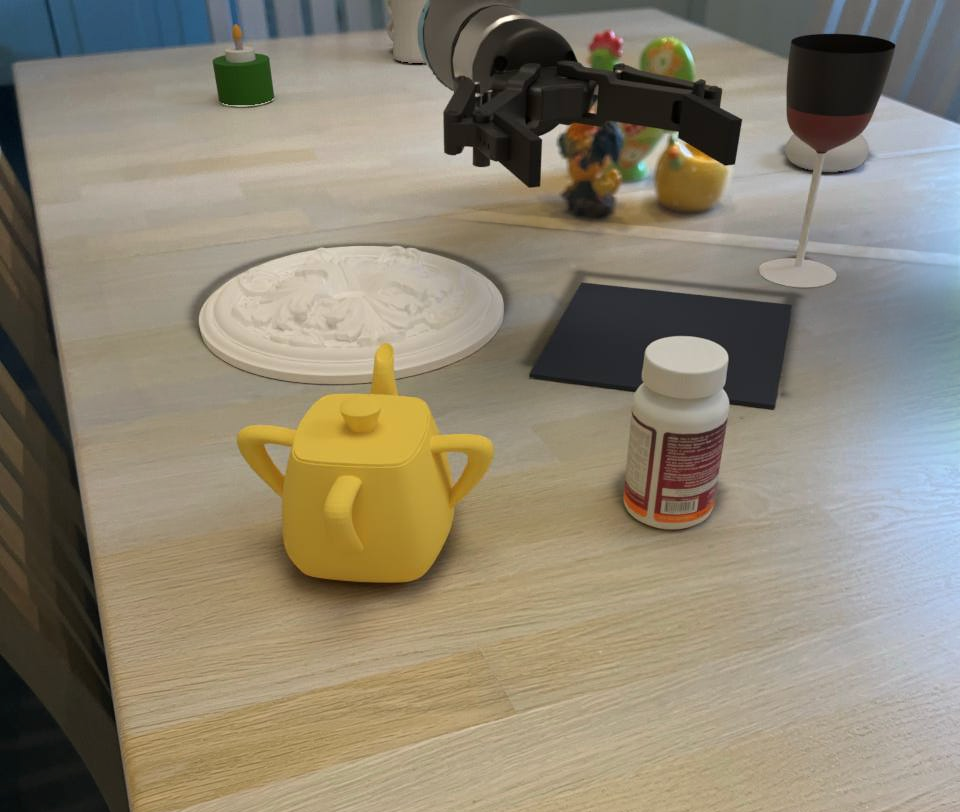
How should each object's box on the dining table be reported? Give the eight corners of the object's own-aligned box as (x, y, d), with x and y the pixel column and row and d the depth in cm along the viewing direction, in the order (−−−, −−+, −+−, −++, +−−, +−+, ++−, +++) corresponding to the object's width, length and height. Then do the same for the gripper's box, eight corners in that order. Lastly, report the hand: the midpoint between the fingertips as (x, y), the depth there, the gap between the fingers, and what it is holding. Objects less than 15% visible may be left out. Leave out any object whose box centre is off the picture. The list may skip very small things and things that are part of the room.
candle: (220, 109, 149) (207, 31, 143) (218, 95, 155) (205, 20, 149) (276, 105, 151) (266, 28, 144) (272, 91, 157) (262, 17, 150)
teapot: (236, 526, 68) (208, 387, 62) (397, 465, 74) (386, 331, 67) (338, 632, 60) (318, 485, 53) (510, 555, 66) (512, 412, 59)
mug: (457, 58, 173) (456, -11, 166) (419, 67, 168) (416, -3, 161) (407, 48, 179) (404, -19, 172) (369, 57, 174) (364, -12, 168)
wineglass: (752, 254, 104) (790, 32, 91) (840, 260, 103) (891, 35, 90) (752, 284, 98) (792, 51, 85) (845, 291, 97) (900, 55, 84)
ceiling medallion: (177, 282, 100) (170, 250, 98) (442, 242, 108) (441, 211, 106) (234, 409, 81) (227, 372, 78) (553, 349, 88) (554, 313, 86)
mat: (791, 308, 94) (792, 304, 94) (774, 409, 80) (775, 404, 80) (580, 286, 99) (581, 282, 98) (529, 377, 84) (529, 373, 84)
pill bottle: (727, 501, 70) (755, 347, 63) (686, 543, 66) (711, 385, 59) (648, 473, 73) (666, 323, 65) (605, 513, 69) (618, 358, 62)
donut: (771, 169, 126) (851, 180, 122) (775, 139, 124) (857, 149, 119) (799, 148, 132) (876, 158, 128) (804, 119, 130) (882, 129, 126)
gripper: (656, 112, 83) (797, 194, 68) (362, 141, 77) (447, 237, 62) (667, 6, 78) (823, 70, 64) (354, 28, 72) (445, 103, 57)
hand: (637, 153), depth 63 cm, fingers open, 13 cm apart
